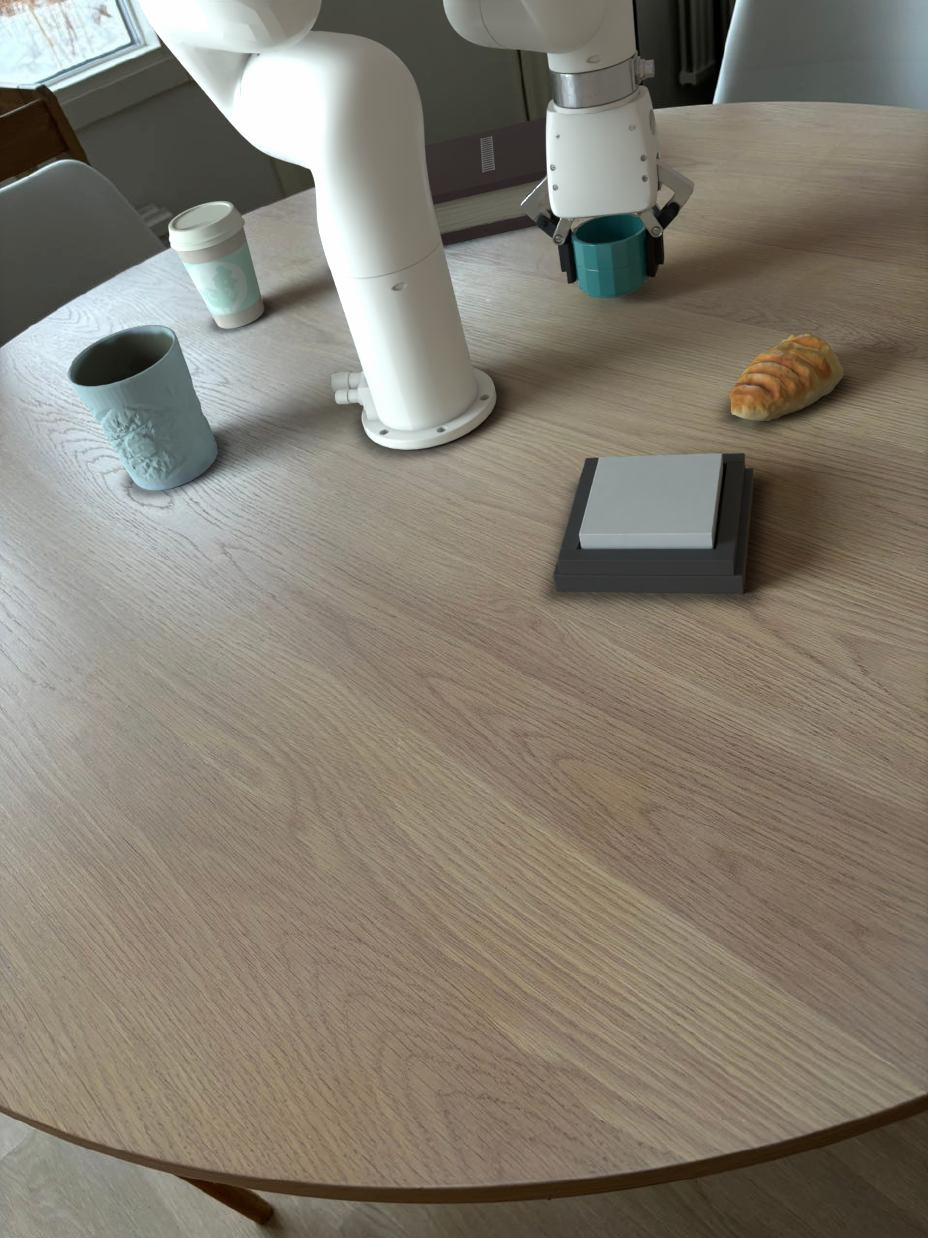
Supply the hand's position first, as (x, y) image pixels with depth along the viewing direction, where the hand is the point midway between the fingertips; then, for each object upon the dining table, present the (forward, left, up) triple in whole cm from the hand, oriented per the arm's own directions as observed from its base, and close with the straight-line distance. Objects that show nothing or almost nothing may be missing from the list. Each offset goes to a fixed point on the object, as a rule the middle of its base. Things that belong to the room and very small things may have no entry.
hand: (613, 273), depth 100 cm
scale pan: (+9, -37, 0) cm, 38 cm away
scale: (+9, -37, -2) cm, 38 cm away
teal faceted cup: (0, 0, -1) cm, 1 cm away
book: (-24, +26, -3) cm, 36 cm away
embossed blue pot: (-38, -26, -3) cm, 47 cm away
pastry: (+17, -19, -3) cm, 26 cm away
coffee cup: (-44, +3, -3) cm, 45 cm away
